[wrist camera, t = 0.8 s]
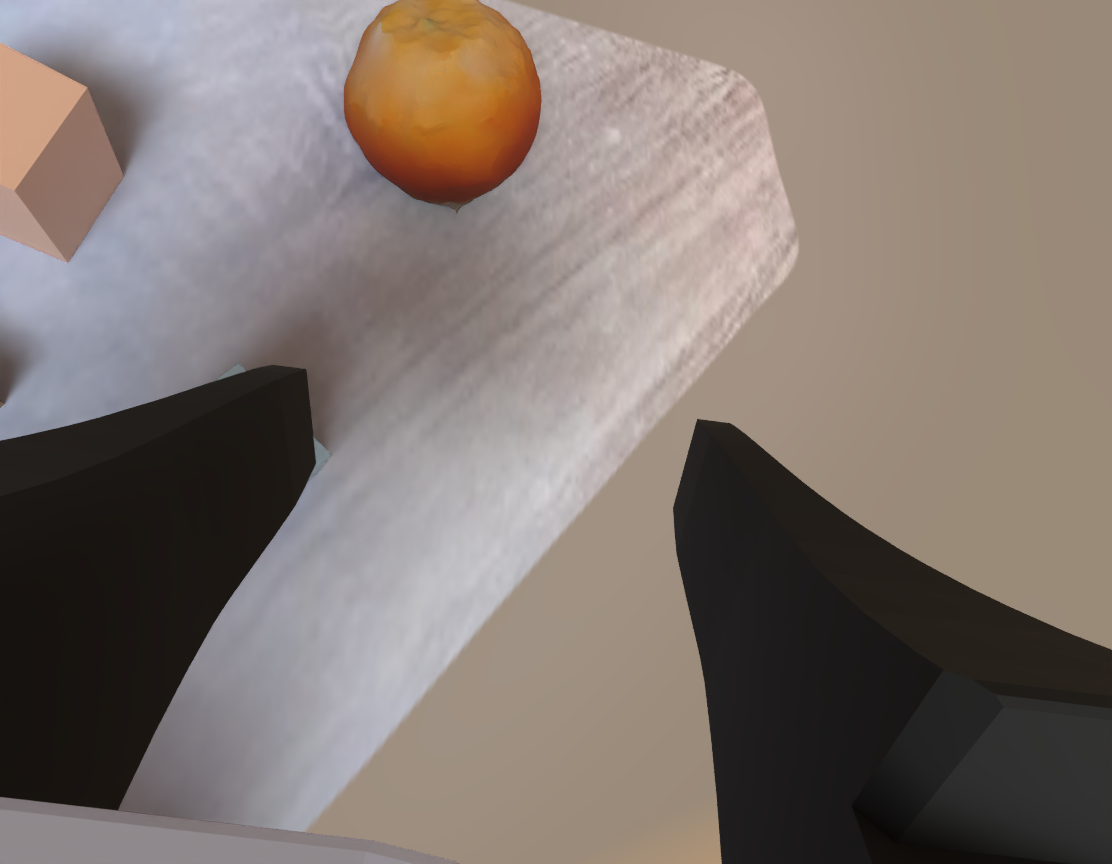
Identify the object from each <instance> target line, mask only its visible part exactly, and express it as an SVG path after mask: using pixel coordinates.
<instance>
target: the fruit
mask: <svg viewBox="0 0 1112 864" xmlns="http://www.w3.org/2000/svg"><path fill="white" fill-rule="evenodd" d="M540 110H541V89H540V81H539V77H538V75H537V72H536V68H535V64H534V62H533V58H532V54H531V51H530V49H529V48H528V47H527V45H526V43H525V41H524V39H523V37H522V36H521V34H520V32H519V31H518V30H517V29H516V28H514V27H513V26H512V25H511V24H510V23H509V22H508V21H507V19H505V18H504V17H503V16H502V15H501V14H500V13H499V12H497V11H496V10H494V9H492V8H490V7H488V6H486V5H483V4H482V3H481V2H479V1H478V0H399V1H397V2H395V3H393V4H391V5H389V6H385V7H384V8H383V9H382V10H381V11H380V13H379V14H378V16H377V17H376V18H375V20H374V21H373V22H372V23H371V24H370V25H369V26H368V27H367V29H366V30H365V32H364V33H363V35H362V38H361V41H360V44H359V48H358V51H357V54H356V57H355V60H354V62H353V65H352V67H351V69H350V72H349V74H348V77H347V80H346V83H345V86H344V113H345V119H346V122H347V125H348V128H349V130H350V132H351V134H352V136H353V138H354V139H355V140H356V142H357V143H358V145H359V146H360V148H361V149H362V151H363V153H364V155H365V157H366V158H367V160H368V161H369V162H370V163H371V165H372V166H373V167H374V168H375V169H376V170H377V171H378V172H379V173H380V174H381V175H383V176H384V177H385V178H387V179H388V180H389V181H391V182H392V183H394V184H395V185H397V186H398V187H399V188H401V189H402V190H403V191H404V192H406V193H407V194H409V195H410V196H411V197H413V198H415V199H418V200H422V201H426V202H428V203H434V204H439V205H446V206H449V207H451V208H453V209H455V210H456V212H458V210H459V208H460V207H461V206H463V205H465V204H467V203H469V202H470V201H472V200H473V199H475V198H477V197H479V196H481V195H483V194H485V193H487V192H489V191H491V190H492V189H494V188H496V187H497V186H499V185H500V184H501V183H502V182H503V181H504V180H505V179H507V178H508V177H509V176H511V175H512V174H513V173H514V172H515V171H516V170H517V168H518V167H519V166H520V165H521V163H522V162H523V161H524V159H525V157H526V155H527V153H528V152H529V150H530V148H531V146H532V143H533V141H534V139H535V136H536V133H537V129H538V124H539V118H540Z"/></svg>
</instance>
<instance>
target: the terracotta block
mask: <svg viewBox="0 0 1112 864" xmlns="http://www.w3.org/2000/svg"><path fill="white" fill-rule="evenodd" d="M123 177H124V175H123V173H122V171H121V168H120V166H119V163H118V161H117V158H116V156H115V153H114V151H113V149H112V146H111V144H110V141H109V139H108V136H107V134H106V131H105V129H104V127H103V124H102V122H101V119H100V117H99V114H98V112H97V109H96V107H95V105H94V102H93V100H92V97H91V95H90V92H89V90H88V87H86V86H84V85H82V84H80V83H78V82H76V81H74V80H72V79H70V78H68V77H66V76H64V75H62V74H60V73H58V72H56V71H54V70H53V69H51V68H49V67H47V66H45V65H43V64H41V63H39V62H37V61H35V60H33V59H31V58H29V57H27V56H25V55H23V54H21V53H19V52H17V51H15V50H14V49H12V48H10V47H8V46H6V45H4V44H2V43H0V235H2V236H5V237H7V238H9V239H12V240H14V241H16V242H19V243H21V244H24V245H26V246H28V247H31V248H33V249H36V250H38V251H40V252H43V253H45V254H48V255H50V256H52V257H55V258H57V259H60V260H62V261H64V262H67V263H68V262H69V261H70V259H71V258H72V256H73V255H74V253H75V251H76V250H77V248H78V247H79V245H80V244H81V242H82V240H83V239H84V237H85V236H86V234H87V233H88V231H89V230H90V228H91V226H92V225H93V223H94V222H95V220H96V219H97V217H98V216H99V214H100V212H101V211H102V209H103V208H104V206H105V205H106V203H107V202H108V200H109V198H110V197H111V195H112V194H113V192H114V191H115V189H116V188H117V186H118V184H119V183H120V181H121V180H122V178H123Z"/></svg>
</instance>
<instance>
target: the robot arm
mask: <svg viewBox="0 0 1112 864" xmlns="http://www.w3.org/2000/svg"><path fill="white" fill-rule="evenodd" d="M315 465H316V457H315V447H314V438H313V428H312V419H311V410H310V400H309V391H308V381H307V372H306V369H300V368H292V367H284V366H276V365H271V366H265V367H260V368H256V369H252V370H249V371H245V372H242V373H239V374H235V375H232V376H229V377H226V378H223V379H220V380H217V381H214V382H211V383H208V384H205V385H202V386H199V387H196V388H193V389H190V390H187V391H184V392H181V393H178V394H175V395H172V396H169V397H166V398H163V399H159V400H156V401H153V402H149V403H146V404H143V405H139V406H136V407H133V408H129V409H126V410H123V411H120V412H116V413H113V414H110V415H106V416H103V417H100V418H96V419H92V420H88V421H85V422H81V423H77V424H73V425H69V426H65V427H61V428H57V429H52V430H48V431H43V432H39V433H34V434H30V435H26V436H21V437H16V438H12V439H7V440H2V441H0V864H458V863H457V862H455V861H453V860H449V859H445V858H441V857H437V856H433V855H429V854H425V853H421V852H417V851H413V850H409V849H405V848H401V847H397V846H393V845H389V844H385V843H381V842H377V841H373V840H364V839H355V838H348V837H338V836H330V835H321V834H313V833H305V832H296V831H288V830H279V829H270V828H262V827H253V826H245V825H236V824H227V823H219V822H210V821H202V820H193V819H184V818H176V817H167V816H159V815H150V814H141V813H133V812H124V811H118V809H119V806H120V804H121V802H122V800H123V798H124V796H125V794H126V791H127V789H128V787H129V785H130V783H131V781H132V779H133V777H134V775H135V773H136V771H137V769H138V766H139V764H140V762H141V760H142V758H143V756H144V754H145V752H146V750H147V748H148V746H149V744H150V741H151V739H152V737H153V735H154V733H155V731H156V729H157V727H158V725H159V723H160V721H161V720H162V718H163V716H164V714H165V712H166V710H167V708H168V706H169V704H170V702H171V700H172V698H173V696H174V695H175V693H176V691H177V689H178V687H179V685H180V683H181V681H182V679H183V677H184V675H185V673H186V672H187V670H188V668H189V666H190V664H191V663H192V661H193V659H194V657H195V656H196V654H197V652H198V650H199V648H200V647H201V645H202V643H203V641H204V639H205V638H206V636H207V634H208V632H209V630H210V629H211V627H212V625H213V623H214V622H215V620H216V619H217V617H218V616H219V614H220V613H221V611H222V609H223V608H224V606H225V605H226V603H227V602H228V600H229V599H230V597H231V596H232V595H233V593H234V592H235V590H236V589H237V588H238V586H239V585H240V583H241V582H242V581H243V579H244V578H245V576H246V575H247V574H248V572H249V571H250V569H251V568H252V567H253V565H254V564H255V562H256V561H257V560H258V558H259V557H260V555H261V554H262V553H263V551H264V550H265V548H266V547H267V546H268V544H269V543H270V541H271V540H272V539H273V537H274V536H275V534H276V533H277V532H278V530H279V529H280V527H281V526H282V524H283V523H284V521H285V520H286V519H287V517H288V516H289V514H290V513H291V511H292V510H293V508H294V507H295V505H296V503H297V501H298V500H299V498H300V496H301V494H302V492H303V490H304V488H305V486H306V484H307V482H308V480H309V478H310V475H311V473H312V471H313V469H314V467H315ZM673 513H674V528H675V540H676V551H677V557H678V562H679V567H680V571H681V576H682V580H683V585H684V589H685V594H686V598H687V602H688V607H689V611H690V615H691V620H692V624H693V628H694V632H695V637H696V641H697V645H698V650H699V655H700V659H701V665H702V670H703V676H704V681H705V689H706V697H707V707H708V715H709V723H710V732H711V742H712V752H713V762H714V773H715V783H716V793H717V806H718V819H719V833H720V846H721V857H722V858H721V859H722V864H1112V650H1111V649H1108V648H1106V647H1103V646H1100V645H1098V644H1095V643H1093V642H1090V641H1088V640H1085V639H1082V638H1080V637H1077V636H1074V635H1072V634H1070V633H1067V632H1065V631H1063V630H1060V629H1058V628H1056V627H1054V626H1051V625H1049V624H1047V623H1044V622H1042V621H1040V620H1038V619H1036V618H1033V617H1031V616H1029V615H1027V614H1024V613H1022V612H1020V611H1018V610H1015V609H1013V608H1011V607H1009V606H1006V605H1004V604H1002V603H1000V602H998V601H996V600H994V599H992V598H990V597H988V596H985V595H984V594H982V593H979V592H977V591H975V590H973V589H971V588H969V587H968V586H966V585H964V584H962V583H960V582H958V581H956V580H954V579H952V578H950V577H949V576H947V575H944V574H943V573H941V572H939V571H937V570H935V569H933V568H932V567H930V566H928V565H926V564H924V563H922V562H921V561H919V560H917V559H915V558H914V557H912V556H910V555H908V554H907V553H905V552H903V551H902V550H900V549H898V548H896V547H895V546H894V545H892V544H890V543H889V542H887V541H886V540H884V539H882V538H881V537H879V536H878V535H876V534H874V533H873V532H871V531H870V530H868V529H866V528H865V527H863V526H862V525H860V524H859V523H858V522H856V521H855V520H853V519H852V518H850V517H849V516H847V515H846V514H844V513H843V512H842V511H840V510H839V509H838V508H836V507H835V506H834V505H832V504H831V503H830V502H828V501H827V500H825V499H824V498H823V497H821V496H820V495H819V494H818V493H816V492H815V491H814V490H812V489H811V488H810V487H809V486H807V485H806V484H805V483H803V482H802V481H801V480H800V479H798V478H797V477H796V476H795V475H793V474H792V473H791V472H790V471H789V470H787V469H786V468H785V467H784V466H783V465H782V464H780V463H779V462H778V461H777V460H776V459H774V458H773V457H772V456H771V455H770V454H768V453H767V452H766V451H765V450H764V449H763V448H761V447H760V446H759V445H758V444H757V443H756V442H754V441H753V440H752V439H751V438H749V437H748V436H747V435H746V434H745V433H743V432H742V431H741V430H739V429H738V428H736V427H735V426H734V425H732V424H730V423H724V422H715V421H708V420H700V419H697V422H696V426H695V429H694V433H693V437H692V440H691V444H690V448H689V451H688V455H687V459H686V462H685V466H684V470H683V474H682V477H681V481H680V485H679V488H678V492H677V496H676V499H675V503H674V507H673Z"/></svg>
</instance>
